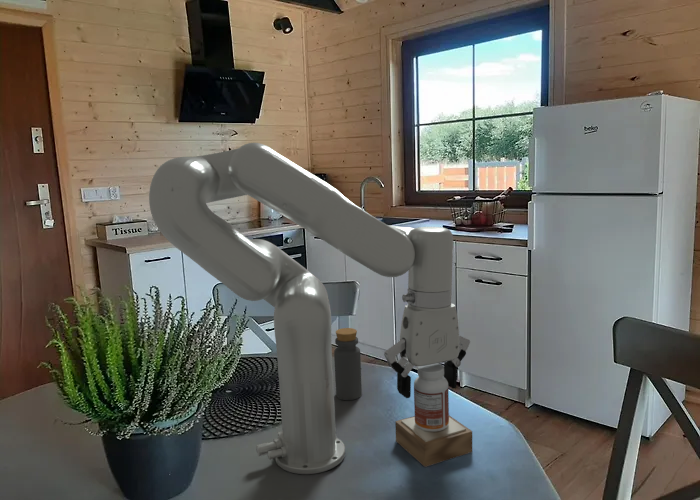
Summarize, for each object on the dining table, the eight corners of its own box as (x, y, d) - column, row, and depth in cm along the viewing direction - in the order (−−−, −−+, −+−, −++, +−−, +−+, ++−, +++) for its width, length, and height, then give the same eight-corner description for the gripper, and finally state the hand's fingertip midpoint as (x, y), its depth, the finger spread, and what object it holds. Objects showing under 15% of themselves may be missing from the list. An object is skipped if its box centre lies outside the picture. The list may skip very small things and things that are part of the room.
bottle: (333, 391, 127) (330, 329, 124) (357, 387, 128) (354, 325, 126) (340, 402, 121) (337, 336, 119) (365, 397, 123) (363, 333, 120)
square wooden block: (424, 466, 95) (424, 443, 94) (395, 441, 104) (395, 419, 103) (472, 452, 99) (472, 429, 98) (440, 428, 108) (440, 407, 107)
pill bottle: (430, 413, 105) (429, 357, 103) (456, 424, 100) (455, 366, 98) (407, 424, 101) (406, 366, 99) (432, 436, 96) (431, 376, 94)
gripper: (397, 308, 90) (396, 407, 92) (483, 297, 97) (479, 389, 100) (375, 298, 96) (375, 391, 99) (457, 288, 103) (454, 375, 106)
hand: (427, 390), depth 99 cm, fingers open, 9 cm apart
